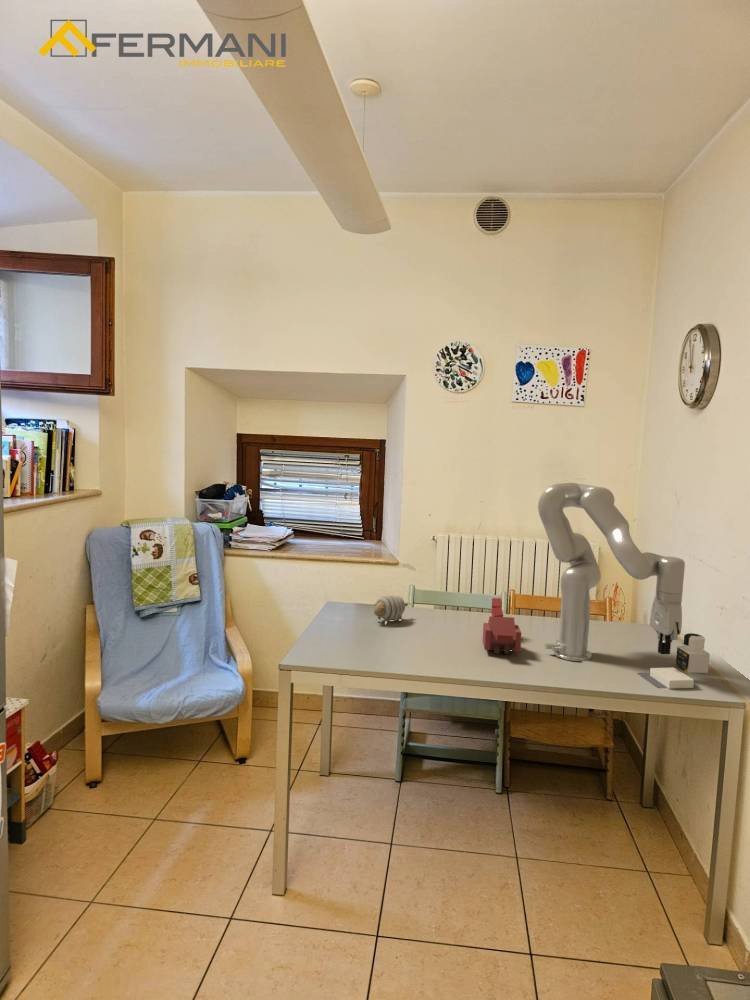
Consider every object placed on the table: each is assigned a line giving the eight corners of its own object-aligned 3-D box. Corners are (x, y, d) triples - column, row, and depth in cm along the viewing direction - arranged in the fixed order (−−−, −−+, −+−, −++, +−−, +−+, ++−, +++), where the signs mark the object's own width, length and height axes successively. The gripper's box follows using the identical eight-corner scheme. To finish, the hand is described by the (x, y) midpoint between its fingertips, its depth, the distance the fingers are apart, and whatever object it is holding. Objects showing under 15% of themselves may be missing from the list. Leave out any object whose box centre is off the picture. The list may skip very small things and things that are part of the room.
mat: (657, 690, 188) (657, 688, 188) (635, 674, 200) (636, 672, 200) (700, 688, 190) (700, 687, 190) (676, 673, 202) (676, 671, 202)
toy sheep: (365, 622, 245) (366, 595, 244) (395, 614, 257) (396, 588, 256) (385, 629, 238) (386, 600, 237) (414, 620, 250) (415, 593, 249)
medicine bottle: (675, 666, 209) (678, 631, 208) (695, 666, 209) (698, 631, 208) (687, 674, 202) (690, 638, 201) (708, 674, 202) (711, 638, 201)
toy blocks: (515, 667, 222) (510, 605, 237) (524, 641, 206) (517, 576, 222) (481, 666, 223) (477, 604, 238) (487, 640, 207) (483, 575, 222)
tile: (649, 676, 198) (668, 689, 188) (650, 668, 197) (669, 680, 188) (673, 675, 199) (693, 688, 189) (673, 667, 199) (694, 679, 189)
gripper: (644, 590, 202) (639, 645, 204) (672, 603, 188) (666, 662, 189) (665, 590, 203) (660, 645, 205) (695, 603, 189) (689, 661, 191)
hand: (663, 653), depth 197 cm, fingers closed
